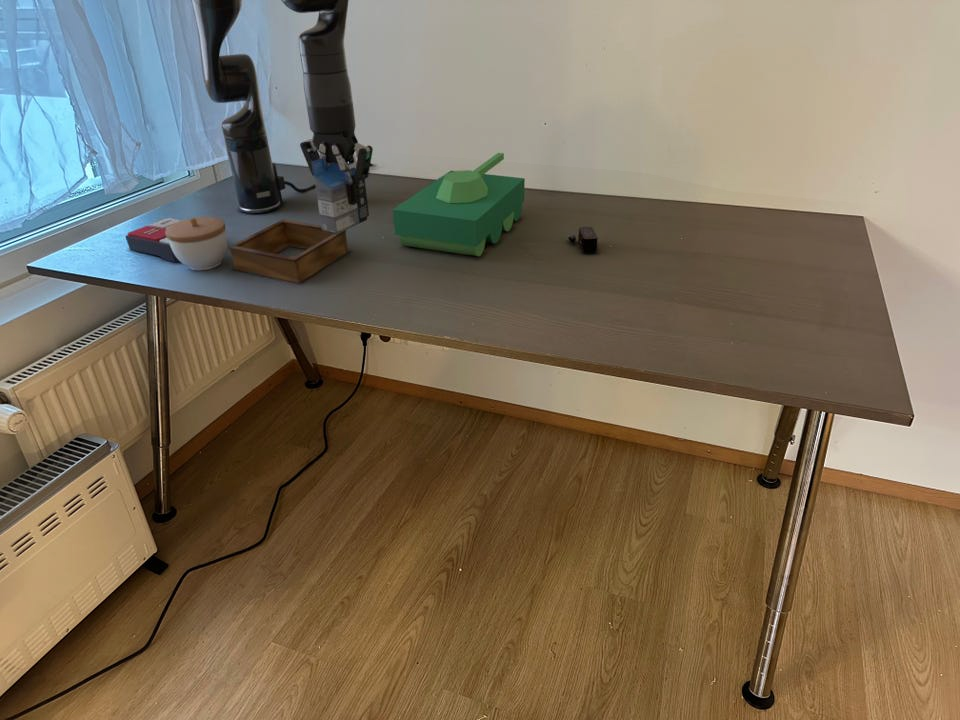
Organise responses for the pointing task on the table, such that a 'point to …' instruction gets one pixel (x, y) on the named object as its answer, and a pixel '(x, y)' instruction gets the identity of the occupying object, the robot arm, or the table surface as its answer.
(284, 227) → the wooden square tray
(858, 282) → the table surface
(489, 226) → the green tank
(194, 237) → the trinket box
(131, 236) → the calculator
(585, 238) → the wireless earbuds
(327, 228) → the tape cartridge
